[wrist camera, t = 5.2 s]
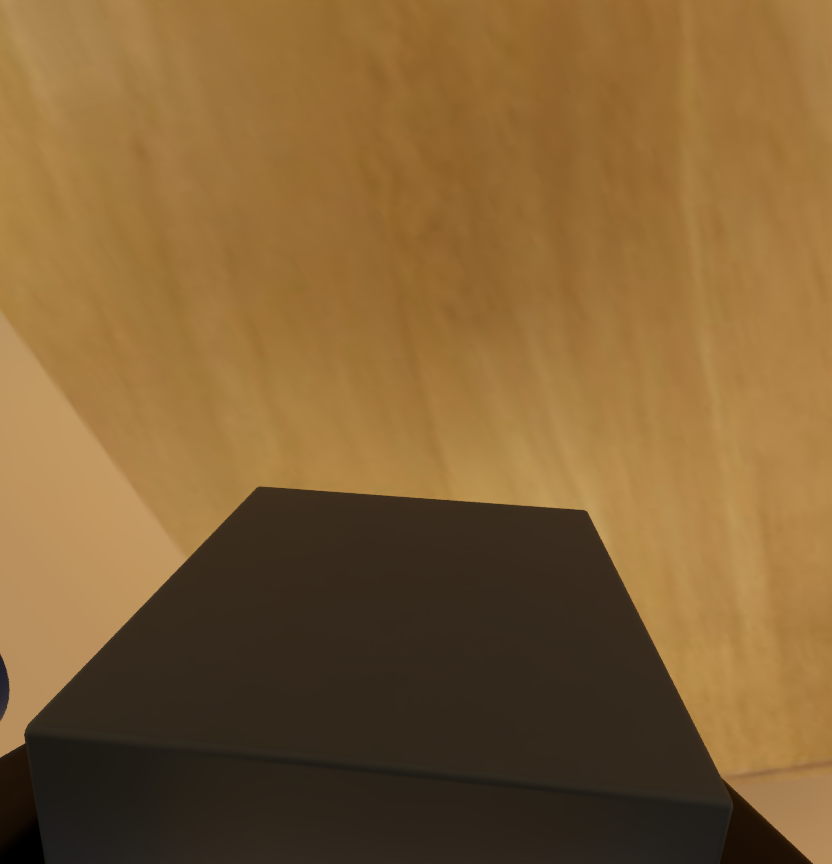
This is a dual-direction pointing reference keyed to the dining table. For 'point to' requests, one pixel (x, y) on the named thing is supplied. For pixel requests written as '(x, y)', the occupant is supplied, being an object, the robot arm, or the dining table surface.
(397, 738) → the block
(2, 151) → the dining table surface
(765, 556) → the dining table surface
